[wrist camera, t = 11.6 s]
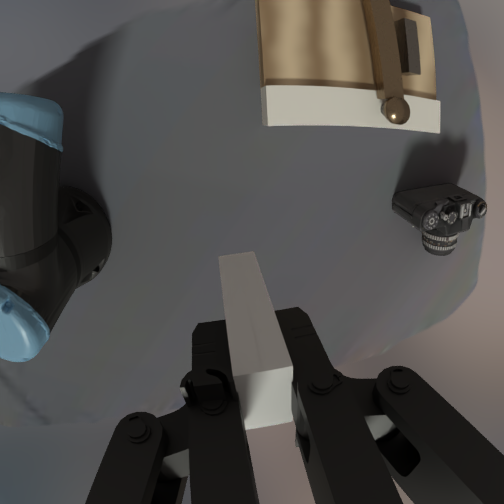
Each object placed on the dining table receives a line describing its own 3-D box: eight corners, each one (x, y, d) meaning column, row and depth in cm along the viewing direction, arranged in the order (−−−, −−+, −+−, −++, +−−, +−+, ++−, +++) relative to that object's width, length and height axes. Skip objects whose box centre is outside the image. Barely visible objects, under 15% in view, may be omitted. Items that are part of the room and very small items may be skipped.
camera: (391, 250, 49) (422, 279, 40) (390, 189, 44) (427, 209, 35) (451, 232, 49) (484, 255, 40) (453, 177, 44) (492, 193, 35)
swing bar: (399, 123, 35) (411, 124, 32) (377, 123, 35) (388, 124, 32) (382, -1, 27) (393, -6, 24) (359, -5, 27) (369, -11, 24)
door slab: (260, 88, 35) (264, 86, 33) (254, -5, 29) (257, -13, 27) (424, 100, 38) (436, 100, 35) (418, 20, 32) (429, 17, 29)
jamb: (262, 124, 38) (270, 126, 32) (260, 88, 35) (268, 84, 30) (424, 130, 40) (447, 135, 35) (424, 100, 38) (447, 101, 33)
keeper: (395, 73, 33) (409, 72, 30) (390, 22, 30) (404, 17, 26) (406, 75, 33) (420, 74, 30) (402, 25, 30) (416, 21, 27)
